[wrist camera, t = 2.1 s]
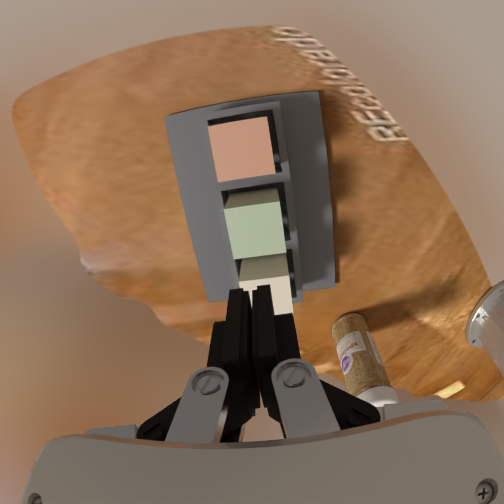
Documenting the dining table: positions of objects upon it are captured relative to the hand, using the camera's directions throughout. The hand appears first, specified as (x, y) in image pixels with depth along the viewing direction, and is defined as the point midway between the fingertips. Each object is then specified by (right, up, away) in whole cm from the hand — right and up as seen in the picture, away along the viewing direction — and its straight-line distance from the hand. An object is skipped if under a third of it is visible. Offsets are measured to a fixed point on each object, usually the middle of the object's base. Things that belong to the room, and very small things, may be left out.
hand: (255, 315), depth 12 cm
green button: (0, +6, +13) cm, 15 cm away
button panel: (0, +7, +16) cm, 17 cm away
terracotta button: (-1, +11, +11) cm, 16 cm away
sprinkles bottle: (+12, -6, +22) cm, 26 cm away
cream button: (+1, +1, +16) cm, 16 cm away
